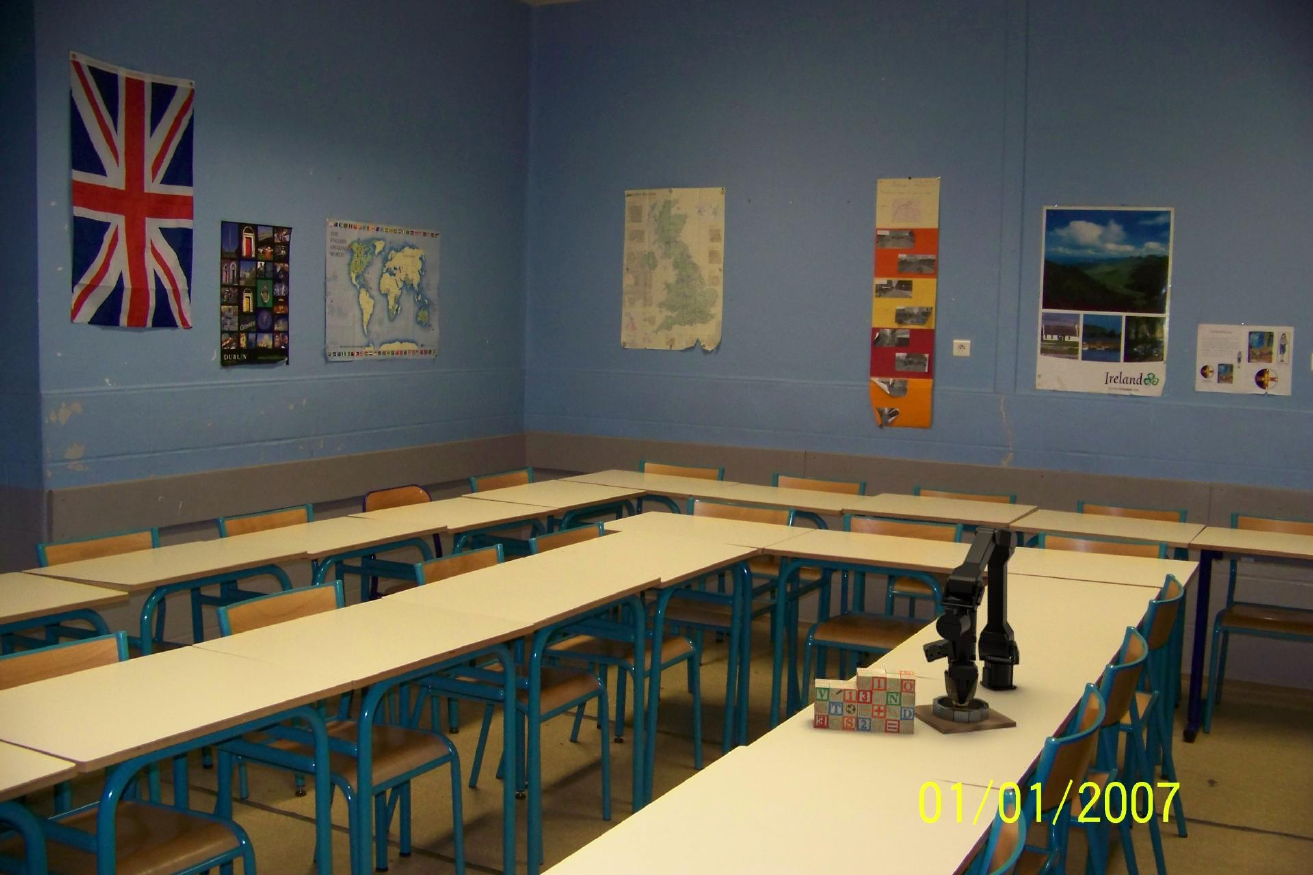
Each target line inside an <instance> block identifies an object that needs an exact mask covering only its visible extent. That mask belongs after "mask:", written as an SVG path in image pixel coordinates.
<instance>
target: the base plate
mask: <svg viewBox="0 0 1313 875" xmlns="http://www.w3.org/2000/svg"><path fill="white" fill-rule="evenodd" d="M947 708H950V709H954V710H966V711H969V710H973V709H969V708H964V709H959V708H955V707H947ZM914 718H917V719H918V720H919V721H921V722H924V723H925V724H926V725H928V726H929V727H932V729H935V730H937V731H938V732H939V733H941V734H942V735H945V734H954V733H955V734H956V733H965V732H966V733H967V732H975V731H985V730H994V729H995V730H996V729H997V730H998V729H1004V728H1005V729H1007V728H1015V727H1017V721H1015V720H1014V719H1012V718H1010V717H1008V716H1006V715H1004V714H1002V712H999V711H997V710H995V709H994V708H992V707H990V706H989V719H987V720H985V721H983V722H978V723H958V722H951V721H947V720H943V719H940V718H938V717H936V716H935V715H933V703H930V704H921V705H915V713H914Z"/></svg>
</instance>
